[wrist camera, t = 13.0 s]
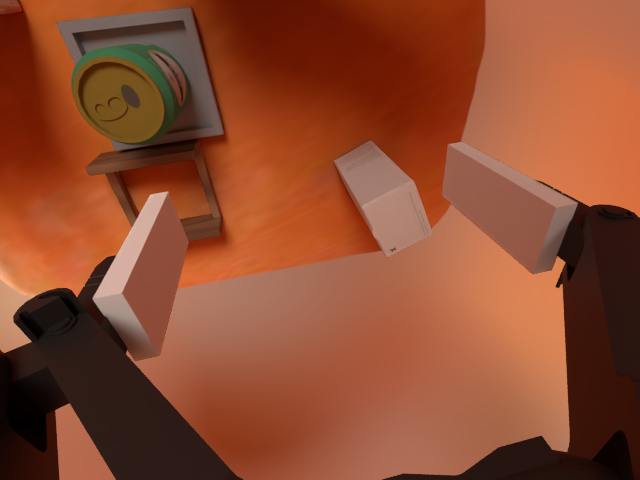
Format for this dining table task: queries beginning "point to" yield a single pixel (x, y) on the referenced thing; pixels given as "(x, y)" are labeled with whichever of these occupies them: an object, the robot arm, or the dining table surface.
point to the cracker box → (10, 6)
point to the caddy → (156, 156)
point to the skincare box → (384, 198)
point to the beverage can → (130, 91)
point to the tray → (171, 35)
